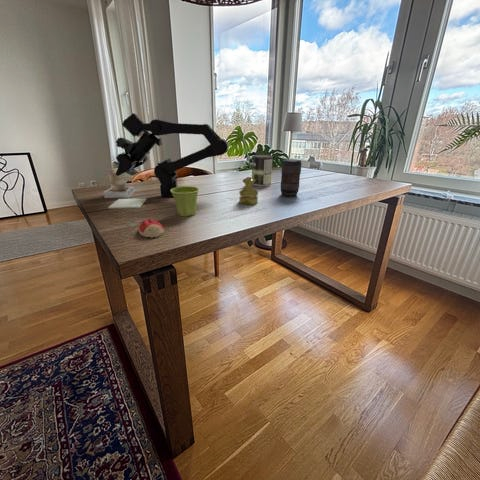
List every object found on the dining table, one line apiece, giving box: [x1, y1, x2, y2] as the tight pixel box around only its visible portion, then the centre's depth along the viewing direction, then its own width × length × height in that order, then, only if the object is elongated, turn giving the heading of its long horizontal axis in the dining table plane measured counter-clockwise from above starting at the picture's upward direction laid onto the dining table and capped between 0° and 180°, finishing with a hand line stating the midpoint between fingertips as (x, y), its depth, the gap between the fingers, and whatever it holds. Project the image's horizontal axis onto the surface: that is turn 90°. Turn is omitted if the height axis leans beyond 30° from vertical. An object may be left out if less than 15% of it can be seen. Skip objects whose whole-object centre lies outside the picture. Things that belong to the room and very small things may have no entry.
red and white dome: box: [138, 218, 165, 239], centre depth 75 cm, size 7×10×4 cm
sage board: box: [107, 198, 148, 210], centre depth 101 cm, size 11×11×1 cm
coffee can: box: [251, 154, 274, 187], centre depth 131 cm, size 10×10×14 cm
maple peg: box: [107, 167, 127, 191], centre depth 111 cm, size 6×6×11 cm
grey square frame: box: [102, 186, 136, 199], centre depth 112 cm, size 10×10×2 cm
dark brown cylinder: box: [280, 159, 303, 198], centre depth 111 cm, size 8×8×15 cm
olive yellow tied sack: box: [239, 176, 259, 206], centre depth 102 cm, size 7×7×10 cm
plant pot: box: [170, 185, 200, 217], centre depth 89 cm, size 9×9×9 cm
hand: (121, 173), depth 109 cm, fingers open, 9 cm apart
